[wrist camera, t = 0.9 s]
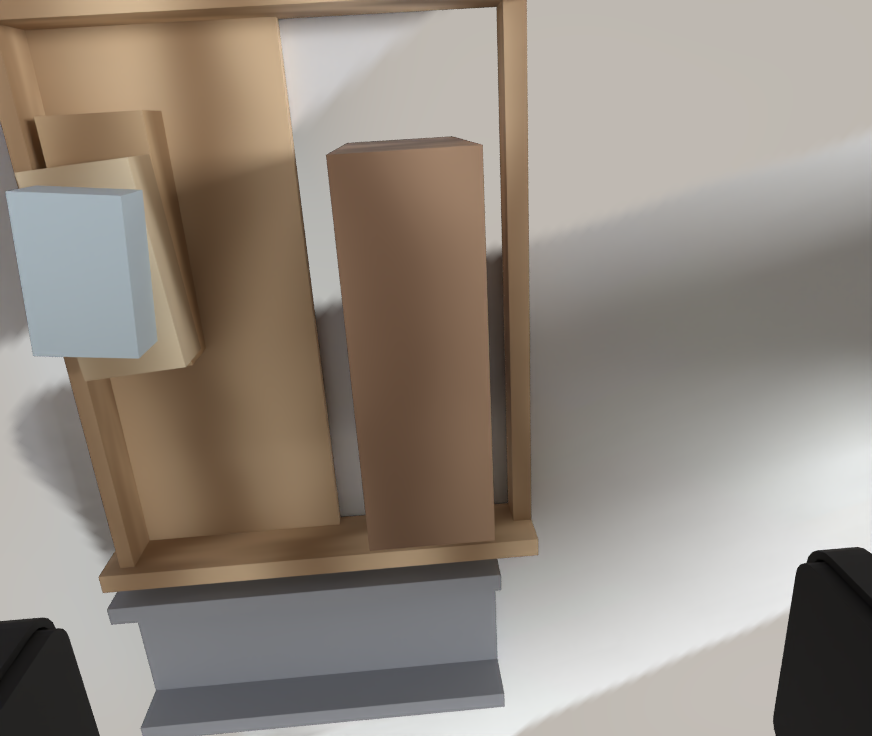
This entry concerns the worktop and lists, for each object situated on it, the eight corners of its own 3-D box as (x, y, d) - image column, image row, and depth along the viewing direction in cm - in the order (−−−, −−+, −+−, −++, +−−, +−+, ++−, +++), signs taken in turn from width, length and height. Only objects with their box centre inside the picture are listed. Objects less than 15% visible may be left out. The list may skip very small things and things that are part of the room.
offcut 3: (149, 154, 23) (127, 157, 21) (201, 348, 25) (185, 367, 23) (45, 168, 23) (14, 172, 21) (107, 361, 25) (84, 381, 23)
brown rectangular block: (452, 136, 26) (482, 144, 17) (465, 421, 30) (494, 540, 21) (347, 142, 25) (326, 154, 17) (375, 428, 30) (369, 551, 21)
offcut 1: (142, 189, 21) (120, 196, 19) (157, 340, 23) (138, 358, 21) (36, 185, 21) (5, 191, 19) (60, 338, 23) (33, 356, 21)
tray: (518, -20, 24) (535, -39, 21) (525, 516, 32) (538, 554, 29) (-12, 8, 23) (-67, -7, 20) (129, 549, 31) (102, 592, 28)
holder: (492, 539, 32) (500, 574, 29) (496, 663, 35) (504, 706, 32) (129, 570, 31) (106, 609, 29) (162, 694, 34) (144, 740, 31)
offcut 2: (161, 110, 24) (141, 110, 22) (206, 348, 27) (192, 365, 25) (61, 116, 24) (33, 116, 22) (118, 354, 27) (98, 372, 25)
